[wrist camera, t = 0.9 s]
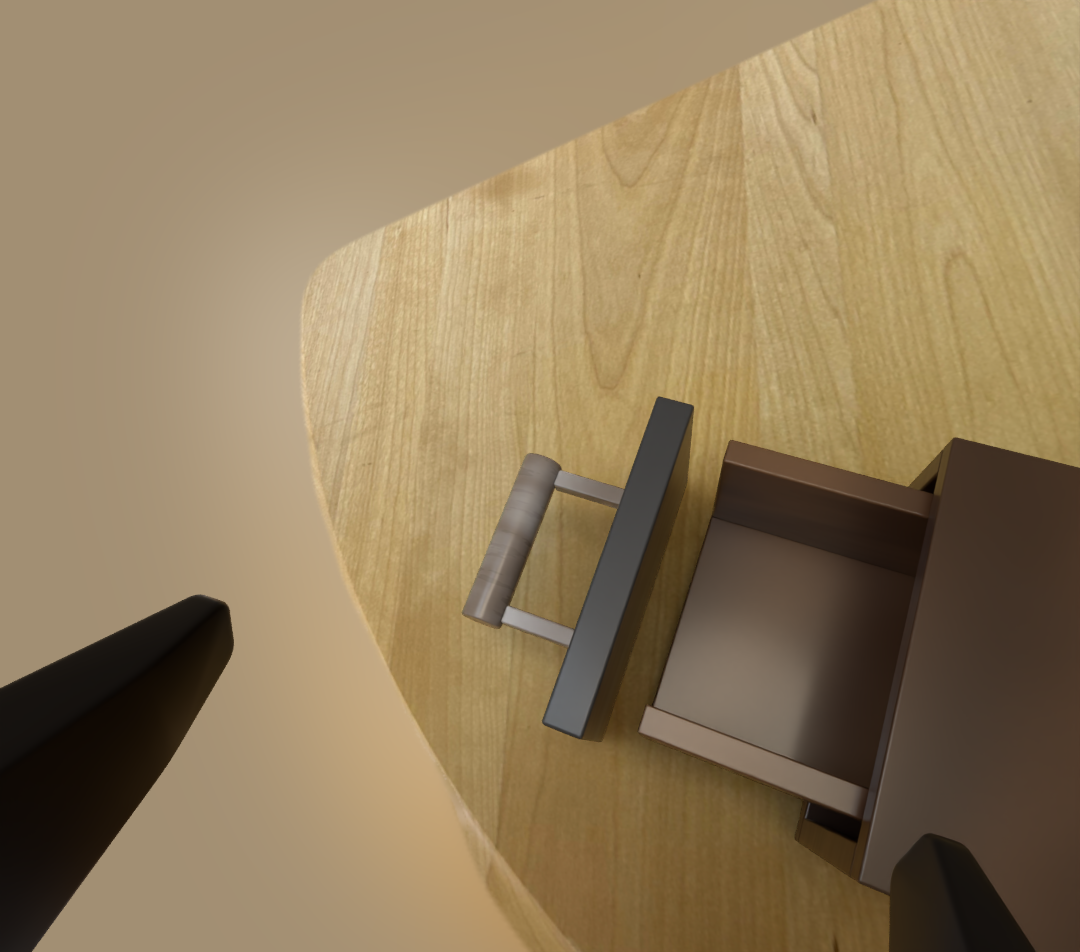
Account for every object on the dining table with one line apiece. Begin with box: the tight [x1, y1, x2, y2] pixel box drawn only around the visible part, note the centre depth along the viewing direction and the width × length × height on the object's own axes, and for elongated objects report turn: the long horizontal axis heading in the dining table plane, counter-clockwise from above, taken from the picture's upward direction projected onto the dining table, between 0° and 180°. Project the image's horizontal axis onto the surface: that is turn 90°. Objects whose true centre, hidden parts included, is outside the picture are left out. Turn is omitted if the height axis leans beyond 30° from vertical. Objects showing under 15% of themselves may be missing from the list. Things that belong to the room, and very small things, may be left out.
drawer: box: [462, 397, 934, 823], centre depth 23 cm, size 17×10×7 cm, turn 69°
